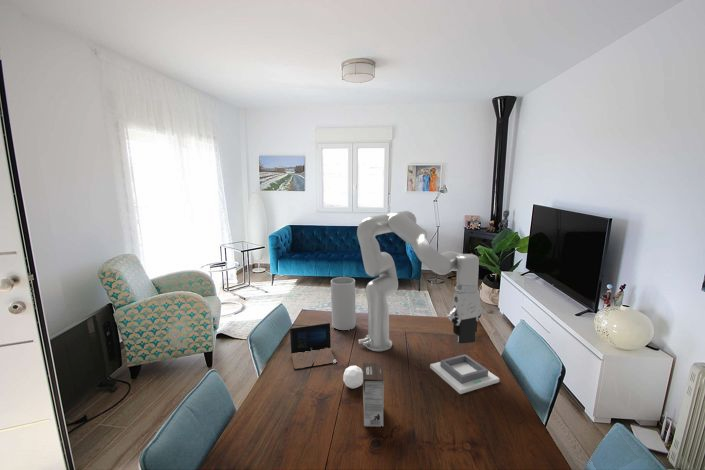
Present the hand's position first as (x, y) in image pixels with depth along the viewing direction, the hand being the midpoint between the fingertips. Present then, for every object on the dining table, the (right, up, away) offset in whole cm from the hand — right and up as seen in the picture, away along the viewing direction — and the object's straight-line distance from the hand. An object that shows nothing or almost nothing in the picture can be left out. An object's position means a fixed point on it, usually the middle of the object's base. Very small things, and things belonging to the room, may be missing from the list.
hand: (465, 331), depth 122 cm
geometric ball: (-42, -19, -3) cm, 47 cm away
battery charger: (0, -4, +1) cm, 4 cm away
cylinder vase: (-47, -11, +47) cm, 68 cm away
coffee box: (-36, -22, -19) cm, 46 cm away
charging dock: (0, -18, +3) cm, 18 cm away
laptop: (-60, -17, +16) cm, 64 cm away
